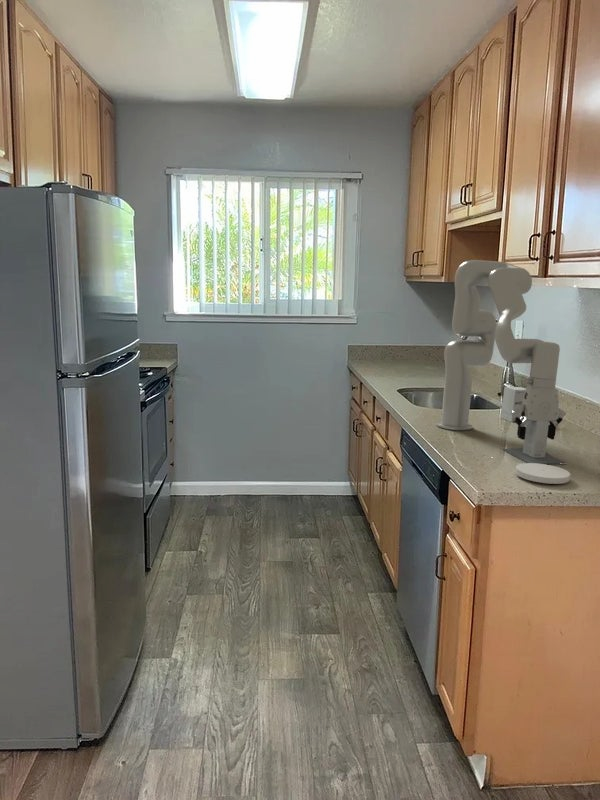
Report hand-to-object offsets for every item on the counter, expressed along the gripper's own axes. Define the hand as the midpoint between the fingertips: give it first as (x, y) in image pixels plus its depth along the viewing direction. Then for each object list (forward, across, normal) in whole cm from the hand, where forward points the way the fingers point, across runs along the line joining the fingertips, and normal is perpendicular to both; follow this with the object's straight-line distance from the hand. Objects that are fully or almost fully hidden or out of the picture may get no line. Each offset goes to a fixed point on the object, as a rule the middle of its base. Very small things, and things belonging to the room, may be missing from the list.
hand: (535, 438), depth 195 cm
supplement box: (+6, +21, +51) cm, 56 cm away
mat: (+6, 0, 0) cm, 6 cm away
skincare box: (+6, 0, 0) cm, 6 cm away
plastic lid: (+6, -9, -20) cm, 23 cm away
